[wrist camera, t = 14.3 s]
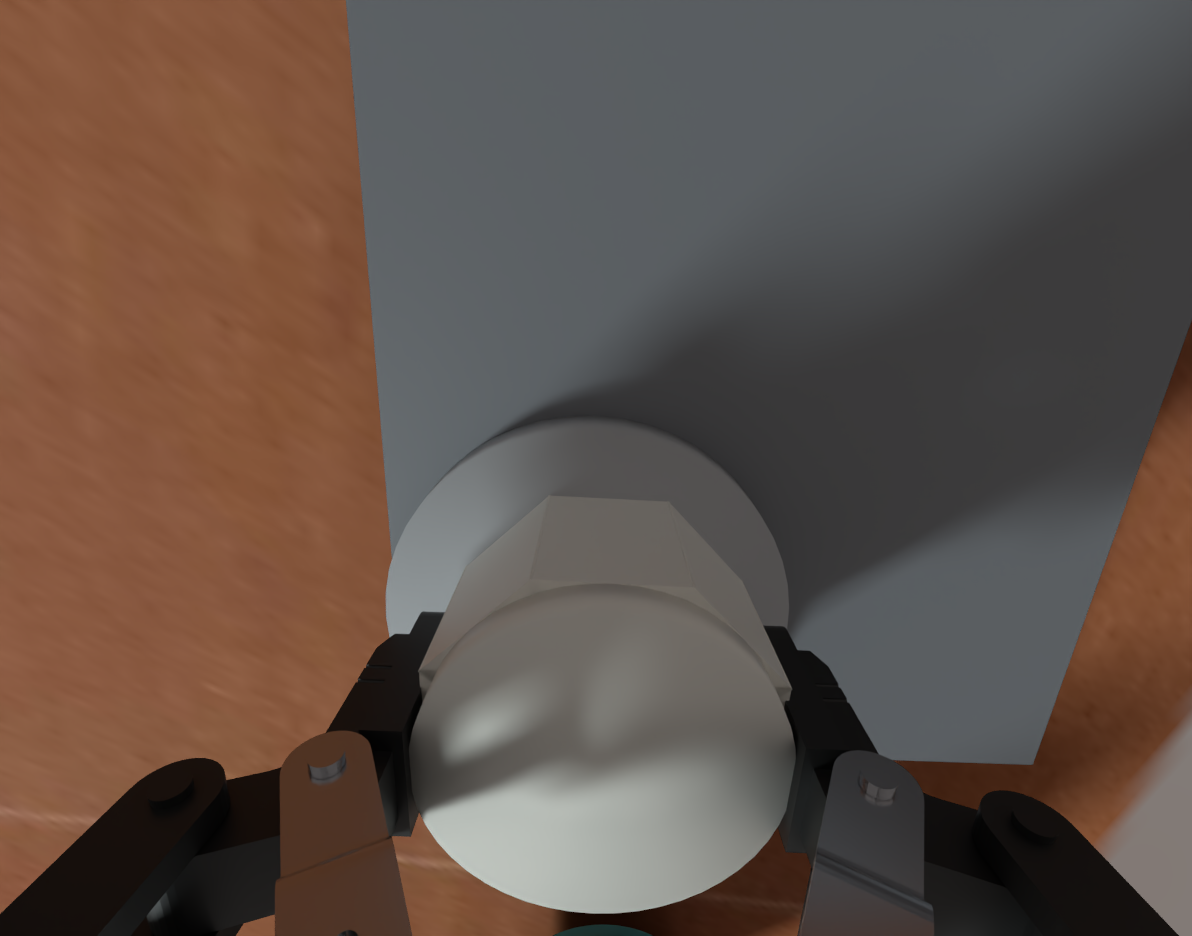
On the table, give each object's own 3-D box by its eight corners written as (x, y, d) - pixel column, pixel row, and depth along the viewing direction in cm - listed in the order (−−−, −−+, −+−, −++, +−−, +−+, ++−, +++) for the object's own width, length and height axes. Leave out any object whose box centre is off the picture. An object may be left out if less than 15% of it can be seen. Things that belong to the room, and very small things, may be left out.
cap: (410, 613, 14) (326, 765, 10) (612, 439, 12) (620, 526, 8) (591, 770, 15) (588, 963, 11) (790, 632, 14) (874, 790, 10)
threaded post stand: (374, -95, 12) (148, -465, 6) (1230, -55, 12) (1855, -378, 6) (427, 695, 18) (343, 901, 12) (988, 714, 19) (1176, 928, 13)
